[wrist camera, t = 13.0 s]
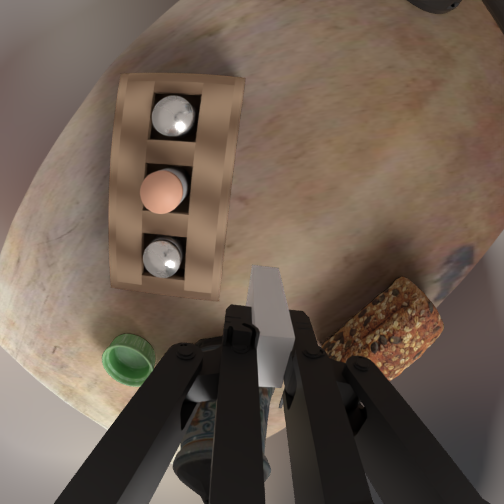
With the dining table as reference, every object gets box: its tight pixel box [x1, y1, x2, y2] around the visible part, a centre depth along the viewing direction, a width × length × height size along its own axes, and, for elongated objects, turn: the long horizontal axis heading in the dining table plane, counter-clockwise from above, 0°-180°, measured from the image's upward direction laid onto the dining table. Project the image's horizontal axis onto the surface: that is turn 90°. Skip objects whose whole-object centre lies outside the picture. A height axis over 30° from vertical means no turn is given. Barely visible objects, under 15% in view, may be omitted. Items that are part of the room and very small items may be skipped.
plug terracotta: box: [140, 167, 191, 214], centre depth 33 cm, size 4×4×6 cm
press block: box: [108, 73, 245, 301], centre depth 36 cm, size 26×14×7 cm, turn 173°
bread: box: [321, 276, 444, 381], centre depth 43 cm, size 19×11×10 cm, turn 135°
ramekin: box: [102, 334, 155, 387], centre depth 46 cm, size 9×9×4 cm
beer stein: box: [173, 336, 275, 504], centre depth 38 cm, size 16×19×25 cm
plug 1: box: [152, 96, 199, 137], centre depth 32 cm, size 4×4×6 cm
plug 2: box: [143, 234, 187, 278], centre depth 37 cm, size 4×4×6 cm
